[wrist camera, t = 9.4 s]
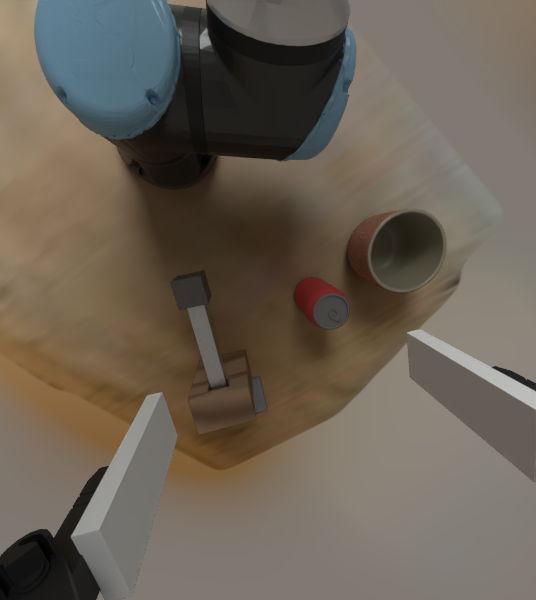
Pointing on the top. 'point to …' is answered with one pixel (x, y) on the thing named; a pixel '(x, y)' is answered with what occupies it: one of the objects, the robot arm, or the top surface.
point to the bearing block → (223, 396)
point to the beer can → (322, 303)
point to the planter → (398, 249)
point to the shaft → (201, 323)
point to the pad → (258, 395)
